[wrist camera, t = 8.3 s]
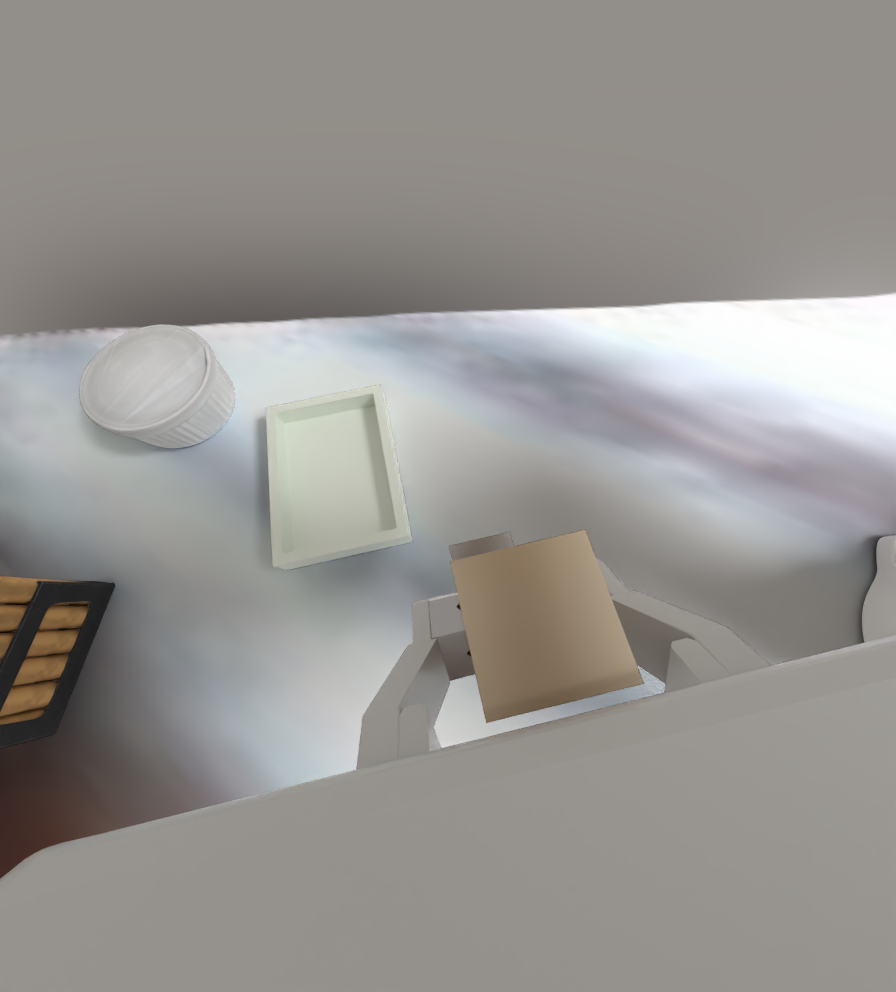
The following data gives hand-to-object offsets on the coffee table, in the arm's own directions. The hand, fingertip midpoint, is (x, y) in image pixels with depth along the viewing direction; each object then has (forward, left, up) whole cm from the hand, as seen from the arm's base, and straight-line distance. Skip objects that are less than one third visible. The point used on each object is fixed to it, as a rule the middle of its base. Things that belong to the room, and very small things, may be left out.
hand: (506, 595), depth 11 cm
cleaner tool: (0, +1, -6) cm, 6 cm away
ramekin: (+23, -24, -17) cm, 38 cm away
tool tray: (+9, -13, -16) cm, 23 cm away
